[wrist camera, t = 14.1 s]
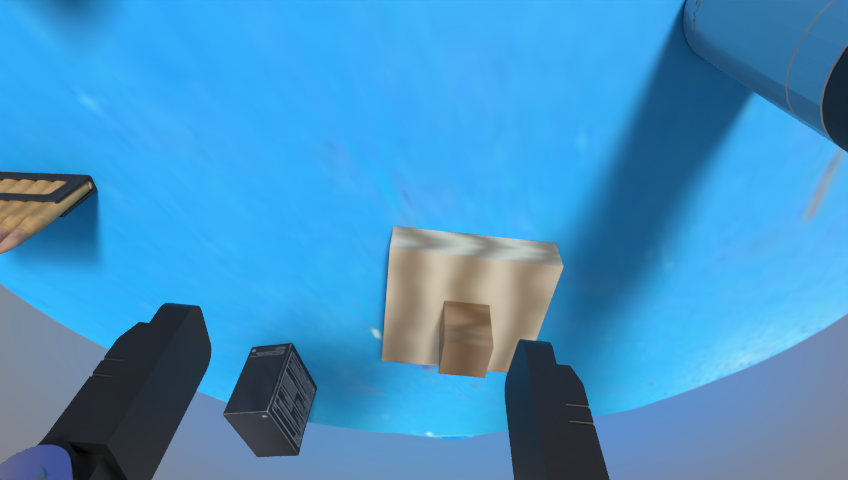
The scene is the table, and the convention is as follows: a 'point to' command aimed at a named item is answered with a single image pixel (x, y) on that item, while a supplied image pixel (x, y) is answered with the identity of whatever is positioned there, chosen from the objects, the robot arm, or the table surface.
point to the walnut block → (465, 339)
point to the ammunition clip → (37, 202)
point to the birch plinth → (465, 290)
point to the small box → (272, 401)
